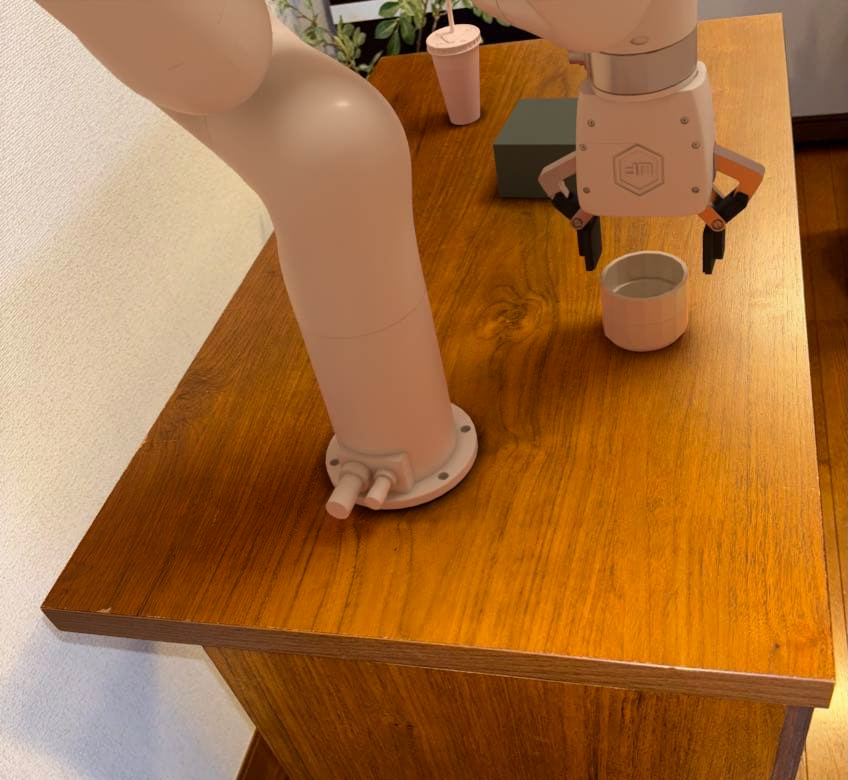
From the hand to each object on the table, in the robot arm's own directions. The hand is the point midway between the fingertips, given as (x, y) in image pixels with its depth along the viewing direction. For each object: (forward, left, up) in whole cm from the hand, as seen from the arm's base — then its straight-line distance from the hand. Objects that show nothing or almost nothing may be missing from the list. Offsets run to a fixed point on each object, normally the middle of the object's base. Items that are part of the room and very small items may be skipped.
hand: (651, 263), depth 82 cm
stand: (+25, +15, -6) cm, 30 cm away
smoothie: (+38, +30, -7) cm, 49 cm away
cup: (-1, +1, -6) cm, 6 cm away
